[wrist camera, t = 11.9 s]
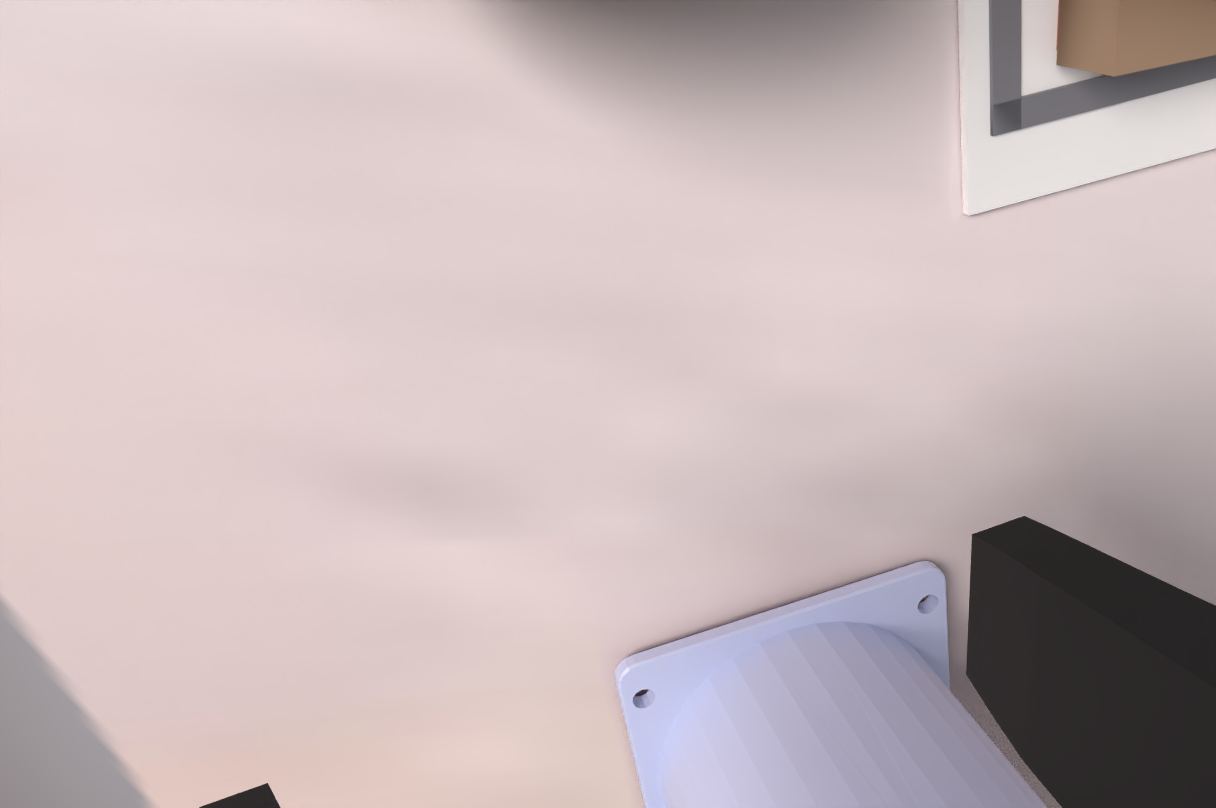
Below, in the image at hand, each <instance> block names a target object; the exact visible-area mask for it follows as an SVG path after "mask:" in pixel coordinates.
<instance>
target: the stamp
mask: <svg viewBox="0 0 1216 808" xmlns="http://www.w3.org/2000/svg"><path fill="white" fill-rule="evenodd" d="M1056 50H1057V61H1056V65H1058V66H1063V67H1068V68H1073V69H1078V70H1083V71H1088V72H1093V73H1098V74H1103V75H1108V76H1113V77H1115V76H1120V75H1124V74H1129V73H1134V72H1138V71H1143V70H1148V69H1152V68H1157V67H1161V66H1166V65H1171V64H1175V63H1180V62H1185V61H1189V60H1194V59H1199V58H1203V57H1208V56H1213V55H1216V0H1059V4H1058V25H1057V45H1056Z"/></svg>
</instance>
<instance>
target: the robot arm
mask: <svg viewBox="0 0 1216 808" xmlns="http://www.w3.org/2000/svg"><path fill="white" fill-rule="evenodd" d="M927 595H929V596H928V597H927V599H926V600H925V601H924V602H922V603H920V604H919V602H920V601H921V600H922V598H924V597H926V596H927ZM966 675H967V676H968V678H969V679H970V681H971V682H972V684H973V686H974V687H975V689H976V690H977V692H978V693H979V695H980V696H981V698H982V700H983V701H984V703H985V704H986V706H987V707H988V709H989V711H990V712H991V714H992V715H993V717H994V718H995V720H996V721H997V723H998V724H999V726H1000V727H1001V729H1002V730H1003V732H1004V733H1005V735H1006V736H1007V738H1008V739H1009V740H1010V742H1011V743H1012V745H1013V746H1014V748H1015V749H1016V751H1017V752H1018V754H1019V755H1020V757H1021V758H1022V760H1023V761H1024V762H1025V763H1026V764H1027V766H1028V767H1029V768H1030V769H1031V771H1032V772H1033V773H1034V774H1035V775H1036V777H1037V778H1038V779H1039V780H1040V781H1041V783H1042V784H1043V785H1044V786H1045V787H1046V789H1047V790H1048V791H1049V792H1050V793H1051V795H1052V796H1053V797H1054V798H1055V799H1056V801H1057V802H1058V803H1059V804H1060V805H1061V806H1062V808H1216V606H1215V605H1213V604H1211V603H1208V602H1206V601H1204V600H1202V599H1200V598H1198V597H1196V596H1193V595H1191V594H1189V593H1187V592H1185V591H1183V590H1181V589H1178V588H1176V587H1174V586H1172V585H1170V584H1168V583H1166V582H1164V581H1162V580H1159V579H1157V578H1155V577H1153V576H1151V575H1149V574H1147V573H1145V572H1143V571H1141V570H1138V569H1136V568H1134V567H1132V566H1130V565H1128V564H1126V563H1124V562H1122V561H1120V560H1117V559H1115V558H1113V557H1111V556H1109V555H1107V554H1105V553H1103V552H1101V551H1099V550H1097V549H1095V548H1092V547H1090V546H1088V545H1086V544H1084V543H1082V542H1080V541H1078V540H1076V539H1074V538H1071V537H1069V536H1067V535H1065V534H1063V533H1061V532H1059V531H1056V530H1054V529H1052V528H1050V527H1048V526H1046V525H1043V524H1041V523H1039V522H1037V521H1034V520H1032V519H1030V518H1028V517H1025V516H1023V517H1020V518H1017V519H1014V520H1012V521H1009V522H1006V523H1003V524H1000V525H997V526H995V527H992V528H989V529H986V530H983V531H980V532H978V533H975V534H972V549H971V573H970V597H969V622H968V645H967V670H966ZM615 682H616V687H617V691H618V695H619V699H620V704H621V708H622V712H623V717H624V721H625V725H626V729H627V734H628V738H629V742H630V746H631V751H632V755H633V759H634V764H635V768H636V772H637V776H638V781H639V785H640V789H641V793H642V798H643V802H644V806H645V808H1048V807H1047V806H1046V805H1045V804H1044V803H1043V801H1042V800H1041V799H1040V798H1039V797H1038V795H1037V794H1036V793H1035V792H1034V791H1033V789H1032V788H1031V787H1030V786H1029V785H1028V783H1027V782H1026V781H1025V780H1024V779H1023V777H1022V776H1021V775H1020V774H1019V773H1018V771H1017V770H1016V769H1015V768H1014V767H1013V765H1012V764H1011V763H1010V762H1009V761H1008V759H1007V758H1006V757H1005V756H1004V755H1003V753H1002V752H1001V751H1000V750H999V749H998V747H997V746H996V745H995V744H994V743H993V741H992V740H991V739H990V738H989V737H988V735H987V734H986V733H985V732H984V731H983V729H982V728H981V727H980V726H979V725H978V723H977V722H976V721H975V720H974V719H973V717H972V716H971V715H970V714H969V713H968V711H967V710H966V709H965V708H964V707H963V705H962V704H961V703H960V702H959V701H958V699H957V698H956V697H955V696H954V694H953V693H952V692H951V691H950V677H949V651H948V625H947V599H946V579H945V575H944V573H943V572H942V571H941V570H940V569H939V568H938V567H937V566H936V565H935V564H934V563H933V562H929V561H921V562H917V563H914V564H911V565H907V566H904V567H901V568H898V569H895V570H892V571H889V572H886V573H883V574H880V575H877V576H874V577H871V578H867V579H864V580H861V581H858V582H855V583H852V584H849V585H846V586H843V587H840V588H837V589H834V590H831V591H827V592H824V593H821V594H818V595H815V596H812V597H809V598H806V599H803V600H800V601H797V602H794V603H791V604H787V605H784V606H781V607H778V608H775V609H772V610H769V611H766V612H763V613H760V614H757V615H754V616H751V617H747V618H744V619H741V620H738V621H735V622H732V623H729V624H726V625H723V626H720V627H717V628H714V629H711V630H708V631H704V632H701V633H698V634H695V635H692V636H689V637H686V638H683V639H680V640H677V641H674V642H671V643H668V644H664V645H661V646H658V647H655V648H652V649H649V650H646V651H643V652H640V653H637V654H634V655H631V656H629V657H627V658H625V659H624V660H623V661H622V662H621V663H620V664H619V665H618V666H617V668H616V671H615ZM645 689H649V690H648V691H647V693H646V694H644V695H642V696H637V697H634V696H635V694H636V693H637V692H639V691H641V690H645ZM199 808H280V806H279V804H278V802H277V800H276V798H275V796H274V794H273V792H272V790H271V789H270V787H269V785H268V783H267V784H264V785H261V786H258V787H255V788H253V789H250V790H247V791H244V792H241V793H238V794H236V795H233V796H230V797H227V798H224V799H221V800H219V801H216V802H213V803H210V804H207V805H204V806H202V807H199Z"/></svg>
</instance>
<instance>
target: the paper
mask: <svg viewBox="0 0 1216 808" xmlns="http://www.w3.org/2000/svg"><path fill="white" fill-rule="evenodd" d="M1058 4H1059V0H958V23H959V65H960V106H961V147H962V189H963V214H966V215H968V216H970V215H974V214H977V213H981V212H985V211H988V210H992V209H996V208H999V207H1003V206H1007V205H1010V204H1014V203H1018V202H1021V201H1025V200H1029V199H1032V198H1036V197H1040V196H1043V195H1047V194H1051V193H1054V192H1058V191H1062V190H1065V189H1069V188H1073V187H1076V186H1080V185H1083V184H1087V183H1091V182H1094V181H1098V180H1102V179H1105V178H1109V177H1113V176H1116V175H1120V174H1124V173H1127V172H1131V171H1135V170H1138V169H1142V168H1146V167H1149V166H1153V165H1157V164H1160V163H1164V162H1168V161H1171V160H1175V159H1179V158H1182V157H1186V156H1190V155H1193V154H1197V153H1201V152H1204V151H1208V150H1212V149H1215V148H1216V55H1213V56H1208V57H1203V58H1199V59H1194V60H1189V61H1185V62H1180V63H1175V64H1171V65H1166V66H1161V67H1157V68H1152V69H1148V70H1143V71H1138V72H1134V73H1129V74H1124V75H1120V76H1115V77H1113V76H1108V75H1103V74H1098V73H1093V72H1088V71H1083V70H1078V69H1073V68H1068V67H1063V66H1058V65H1056V61H1057V50H1056V45H1057V25H1058Z"/></svg>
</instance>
